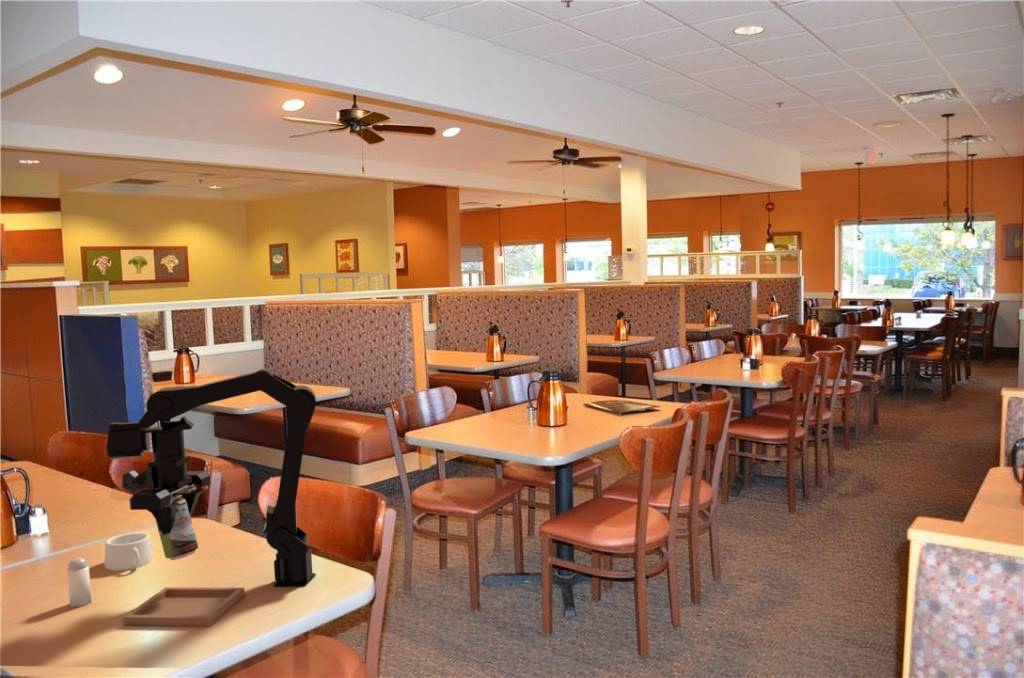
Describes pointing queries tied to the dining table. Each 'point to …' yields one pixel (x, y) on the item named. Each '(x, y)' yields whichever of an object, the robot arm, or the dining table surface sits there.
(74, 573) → the salt shaker
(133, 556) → the mug
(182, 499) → the beverage can
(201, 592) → the tray
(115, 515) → the dining table surface
